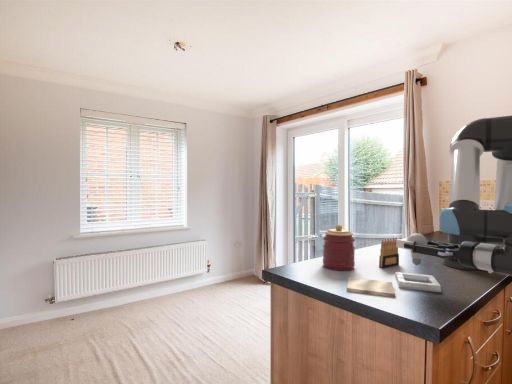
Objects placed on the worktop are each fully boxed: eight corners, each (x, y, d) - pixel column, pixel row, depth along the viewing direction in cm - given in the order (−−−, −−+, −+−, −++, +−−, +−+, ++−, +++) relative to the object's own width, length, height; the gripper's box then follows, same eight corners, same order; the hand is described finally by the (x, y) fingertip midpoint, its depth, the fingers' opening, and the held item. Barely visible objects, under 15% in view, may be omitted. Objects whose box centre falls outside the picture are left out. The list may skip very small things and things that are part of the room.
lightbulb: (402, 263, 103) (403, 232, 102) (419, 262, 103) (419, 231, 103) (413, 267, 96) (414, 235, 96) (431, 267, 97) (431, 234, 97)
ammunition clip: (382, 268, 120) (383, 239, 119) (378, 267, 121) (379, 238, 121) (399, 265, 125) (399, 237, 125) (395, 264, 126) (395, 236, 126)
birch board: (391, 284, 99) (391, 282, 99) (395, 297, 88) (395, 293, 88) (348, 280, 104) (348, 277, 104) (346, 291, 93) (346, 287, 93)
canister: (360, 266, 122) (360, 224, 122) (346, 273, 112) (346, 227, 112) (331, 261, 131) (332, 222, 131) (316, 266, 121) (317, 224, 121)
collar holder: (432, 281, 103) (432, 275, 103) (440, 292, 92) (440, 286, 92) (395, 277, 108) (395, 271, 108) (398, 287, 96) (399, 281, 96)
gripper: (462, 273, 79) (386, 256, 99) (492, 263, 89) (417, 249, 109) (462, 246, 79) (386, 234, 99) (492, 239, 89) (417, 229, 109)
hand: (402, 242), depth 104 cm, fingers closed on lightbulb, 6 cm apart
